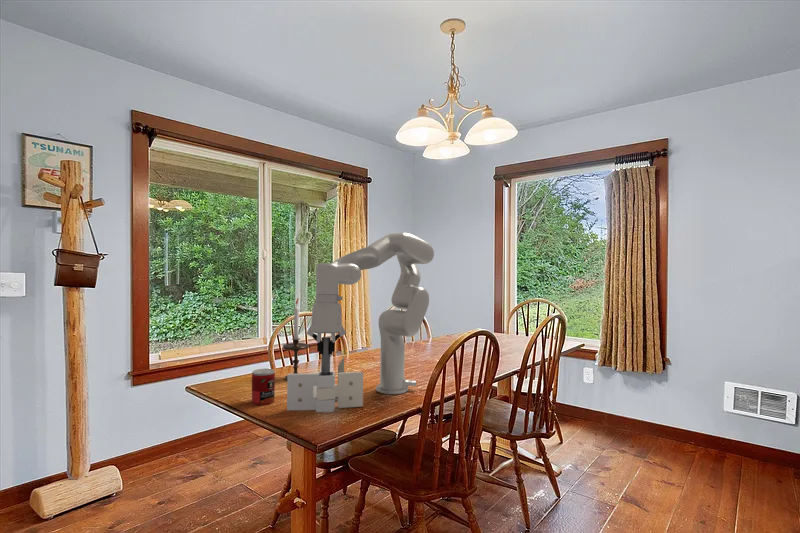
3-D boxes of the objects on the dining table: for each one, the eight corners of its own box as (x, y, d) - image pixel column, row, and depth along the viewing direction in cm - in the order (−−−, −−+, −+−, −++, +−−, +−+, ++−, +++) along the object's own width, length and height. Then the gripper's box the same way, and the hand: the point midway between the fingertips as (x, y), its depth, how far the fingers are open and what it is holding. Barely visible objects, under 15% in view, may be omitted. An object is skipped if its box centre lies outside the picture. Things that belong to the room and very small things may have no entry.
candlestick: (313, 377, 184) (315, 297, 184) (295, 383, 175) (296, 298, 175) (295, 374, 190) (297, 296, 190) (277, 379, 180) (278, 297, 180)
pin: (329, 389, 145) (331, 336, 145) (329, 392, 142) (330, 338, 142) (321, 389, 145) (322, 336, 145) (320, 392, 142) (321, 338, 142)
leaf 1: (334, 406, 147) (335, 371, 147) (333, 411, 141) (334, 375, 141) (288, 407, 145) (289, 372, 146) (285, 412, 140) (286, 376, 140)
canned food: (262, 407, 145) (262, 374, 145) (246, 402, 149) (247, 371, 149) (279, 401, 152) (279, 370, 152) (264, 397, 156) (264, 367, 156)
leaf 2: (361, 403, 150) (361, 370, 150) (363, 408, 144) (364, 374, 144) (316, 406, 146) (316, 372, 146) (317, 411, 140) (317, 376, 140)
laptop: (313, 387, 170) (313, 355, 170) (344, 387, 171) (344, 355, 171) (303, 401, 152) (304, 365, 152) (338, 402, 153) (339, 365, 153)
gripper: (351, 299, 149) (350, 351, 148) (303, 298, 147) (302, 351, 147) (351, 300, 141) (350, 356, 141) (301, 300, 139) (299, 356, 139)
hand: (325, 353), depth 144 cm, fingers closed on pin, 3 cm apart
